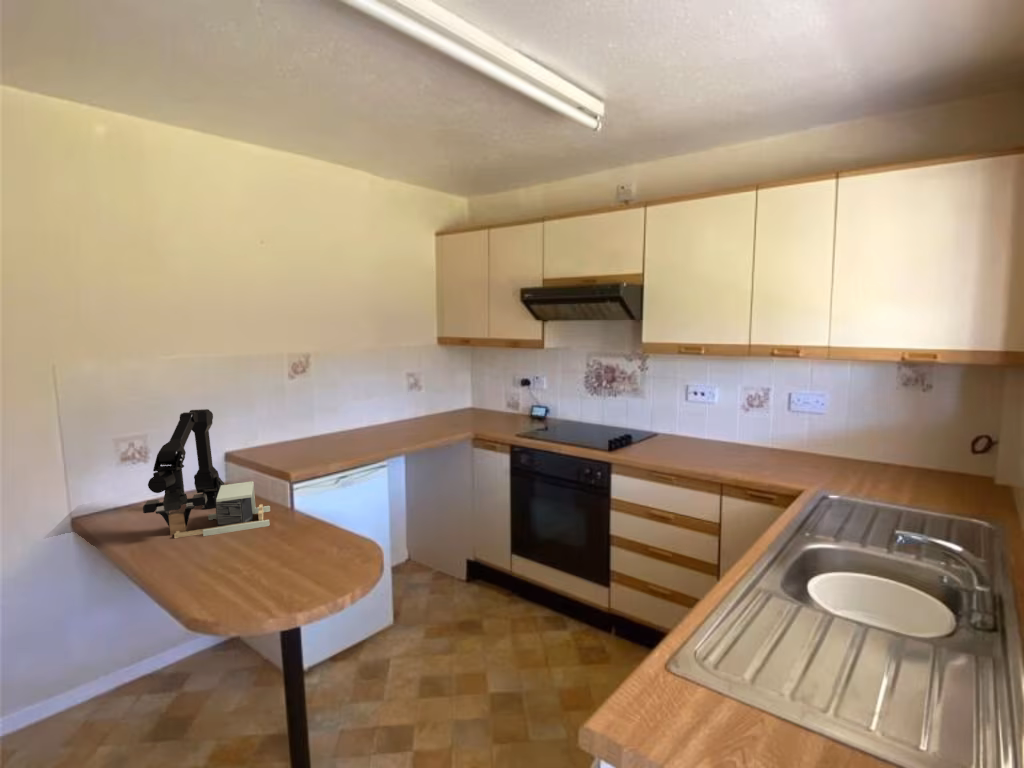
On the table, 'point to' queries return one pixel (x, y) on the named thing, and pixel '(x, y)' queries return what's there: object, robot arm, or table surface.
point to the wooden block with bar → (180, 529)
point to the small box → (234, 511)
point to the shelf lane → (231, 494)
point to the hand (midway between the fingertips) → (178, 526)
